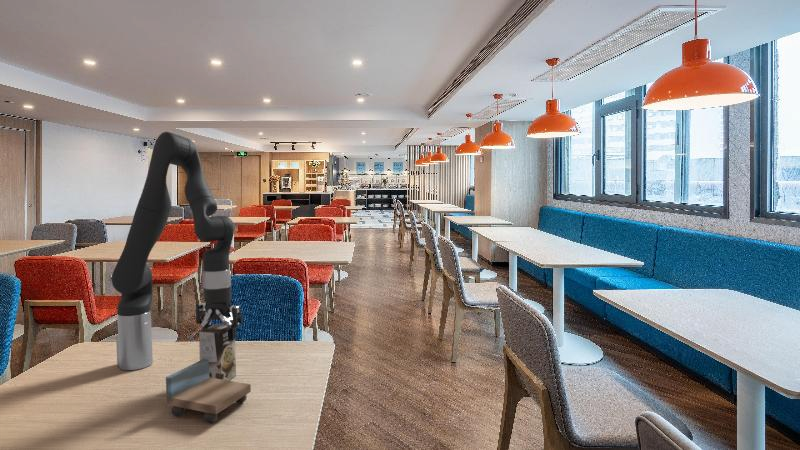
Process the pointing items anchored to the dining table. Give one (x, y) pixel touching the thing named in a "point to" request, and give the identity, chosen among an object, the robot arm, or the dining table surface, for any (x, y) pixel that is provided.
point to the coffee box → (218, 351)
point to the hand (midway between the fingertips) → (219, 339)
